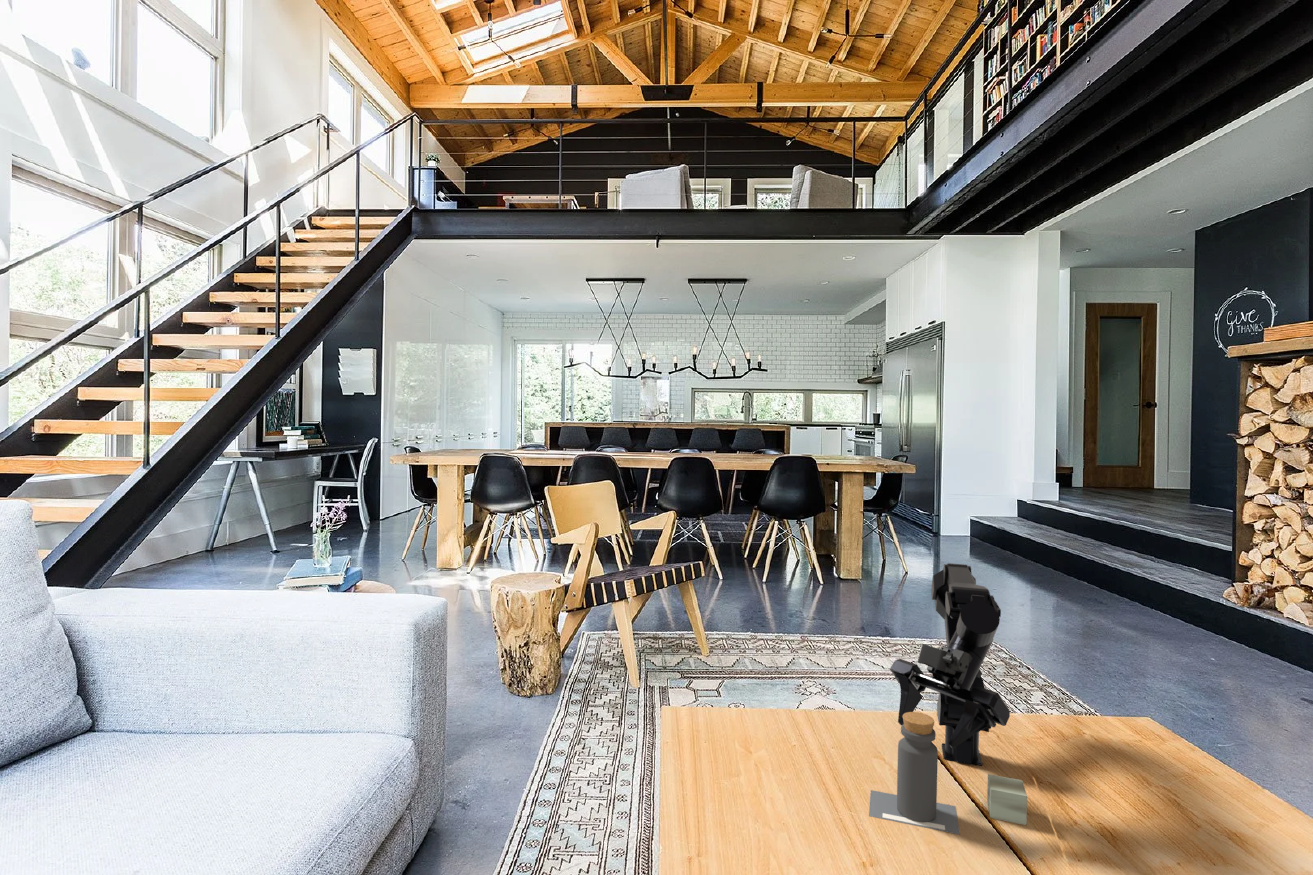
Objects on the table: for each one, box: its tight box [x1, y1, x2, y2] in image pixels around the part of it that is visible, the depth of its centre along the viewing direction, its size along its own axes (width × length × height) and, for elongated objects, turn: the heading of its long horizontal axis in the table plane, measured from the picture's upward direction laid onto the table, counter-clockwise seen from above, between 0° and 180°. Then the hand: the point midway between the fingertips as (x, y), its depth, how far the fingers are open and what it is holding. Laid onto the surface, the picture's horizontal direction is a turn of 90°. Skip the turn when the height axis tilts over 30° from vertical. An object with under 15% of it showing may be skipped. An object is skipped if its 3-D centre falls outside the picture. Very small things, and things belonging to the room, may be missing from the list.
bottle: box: [896, 711, 939, 822], centre depth 105 cm, size 6×6×15 cm
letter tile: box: [868, 789, 961, 836], centre depth 106 cm, size 8×13×1 cm, turn 70°
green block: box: [986, 773, 1028, 826], centre depth 106 cm, size 5×5×5 cm
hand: (924, 734), depth 108 cm, fingers open, 9 cm apart
